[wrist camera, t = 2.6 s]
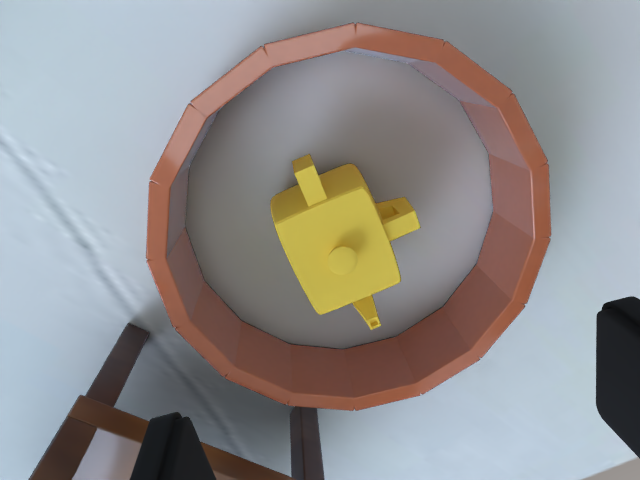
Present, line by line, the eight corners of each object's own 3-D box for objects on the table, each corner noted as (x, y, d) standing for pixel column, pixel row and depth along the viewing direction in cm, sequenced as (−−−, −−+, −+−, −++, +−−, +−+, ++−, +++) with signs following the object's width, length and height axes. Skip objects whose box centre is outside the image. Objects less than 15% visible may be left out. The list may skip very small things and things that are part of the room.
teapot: (422, 263, 24) (458, 313, 19) (320, 304, 24) (330, 364, 19) (368, 117, 21) (395, 133, 16) (253, 168, 21) (246, 198, 16)
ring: (492, -8, 19) (543, -24, 16) (516, 319, 26) (556, 363, 22) (114, 85, 19) (75, 89, 16) (228, 388, 26) (220, 444, 22)
